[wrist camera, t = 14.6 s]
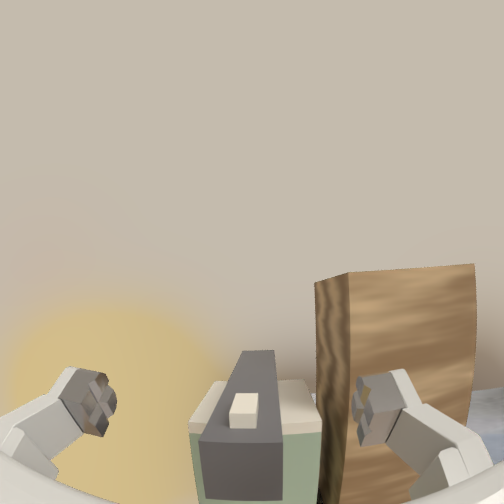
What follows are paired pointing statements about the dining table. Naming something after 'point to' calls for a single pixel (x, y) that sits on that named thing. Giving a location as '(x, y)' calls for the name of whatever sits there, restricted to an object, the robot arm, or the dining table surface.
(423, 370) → the oak stand
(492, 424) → the dining table surface
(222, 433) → the grey bar with knob
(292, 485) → the block
